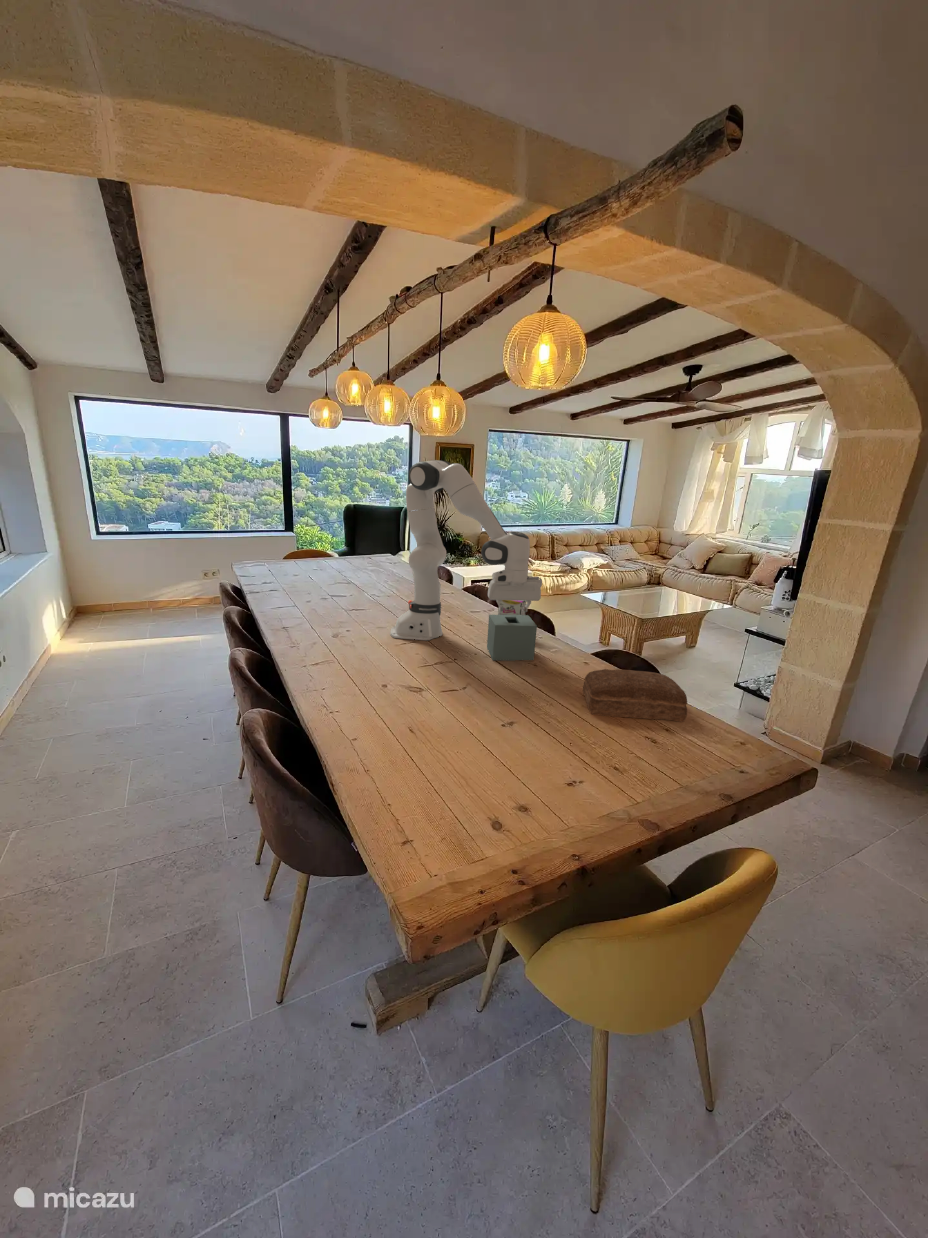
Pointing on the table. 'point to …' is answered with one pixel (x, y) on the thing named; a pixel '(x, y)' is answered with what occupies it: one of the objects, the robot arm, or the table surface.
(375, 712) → the table surface
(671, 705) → the bread
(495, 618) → the coin box
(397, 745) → the table surface
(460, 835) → the table surface
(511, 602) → the candy bar box
